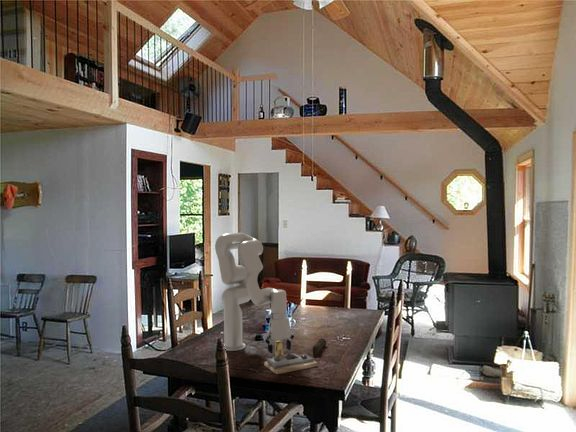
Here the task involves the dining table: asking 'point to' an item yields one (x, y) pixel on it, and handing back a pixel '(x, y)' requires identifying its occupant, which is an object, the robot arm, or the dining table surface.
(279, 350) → the brass pin
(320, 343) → the hand tool
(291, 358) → the grey slotted fixture board
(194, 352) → the dining table surface
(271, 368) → the birch board
